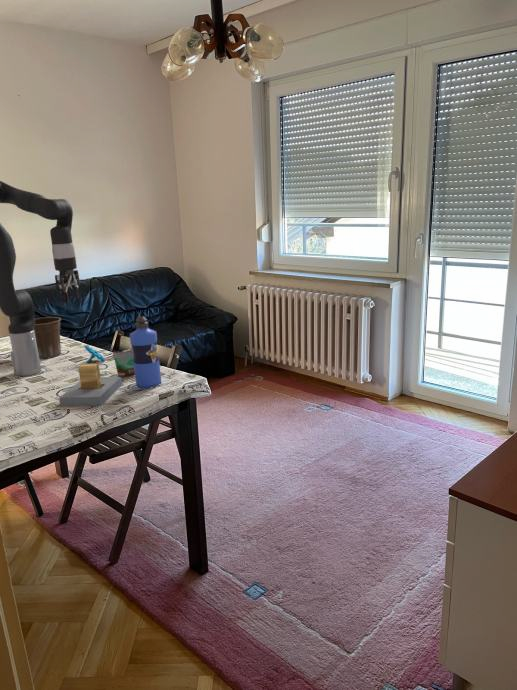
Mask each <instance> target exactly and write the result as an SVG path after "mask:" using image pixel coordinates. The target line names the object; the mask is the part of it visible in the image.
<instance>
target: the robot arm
mask: <svg viewBox="0 0 517 690" xmlns="http://www.w3.org/2000/svg"><path fill="white" fill-rule="evenodd" d="M0 204H11V205H13V206H16V207H17V208H18V209H19V210H22V211H25V212H28V213H31V214H34V215H38V216H39V217H41V218H44V219H45V220H49V221H50V220H52V221H56V224H55V226H53V227H52V228H50V240H51V247H52V249H51V250H52V258H53V259H52V260H53V264H54V269H55V271H58V273H59V274H55V275H54V279H55V288H56V292H57V293H60V296H61V302H62V304H68V303H69V302H70V301H69V294H68V288H71V289H70V291H71V296H72V299H73V300H74V299H76V300H77V299H79V298H80V295H79V287H80V286H81V281H80V276H79V275H80V274H79V271H78V270H77V268H78V266H77V259H76V253H75V247H74V244H73V237H72V225H73V216H74V212H73V207H72V204H71V203H70V202H69V200H67V199H65V198H57V199H54V198H47V197H46V196H44V195H42V194H40V193H35V192H31V191H27V190H23V189H19V188H17V187H14V186H12V185H10V184H8V183H6V182H3V181H1V180H0ZM16 261H17V254H16V249H15V245H14V241H13V238H12V236H11V235H10V233H9V232H8V230H6V228H5V227H4V226H3V225H2V223H1V222H0V310H1V313H2V314H4V315H5V316H6V317H10V318H11V317H12V318H13V319H12V320H11V323H9V325H8V328H7V329H8V334H9V340H10V345H11V351H10V359H11V363H12V364H11V365H12V368H13V369H12V370H13V374H14V376H19V377H20V376H21V377H26V376H34V375H36V374H39V373H41V371H42V367H41V361H40V359H39V354H38V348H37V342H36V336H35V331H34V323H35V319H36V317H35V309H34V302H33V299H32V297H31V295H30V293H29V292H27V291H26V290H24V289H17V290H16V289H15V285H14V271H15V267H16Z"/></svg>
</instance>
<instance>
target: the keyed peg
mask: <svg viewBox="0 0 517 690" xmlns="http://www.w3.org/2000/svg"><path fill="white" fill-rule="evenodd" d="M99 364H100V363H99V362H98V363H97V362H96V363H95V362H94V363H93V362H91V363H90V362H89V364H88V363H81V364H79V365H78V366H77V368H78V373H79V374H78V376H79V381H80V382H81V389H101V388H102V384H101V370H100V365H99Z"/></svg>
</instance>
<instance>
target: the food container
mask: <svg viewBox="0 0 517 690" xmlns="http://www.w3.org/2000/svg"><path fill="white" fill-rule="evenodd" d="M112 359H114V363H115V367H116V368H115V369H116V373H117V377H121V378H129V377H130V376H131V377H135V376H134V375H135V372H134V363H133V362H134V354H133V350H132V347H131V348H127V349H124V350H122V351H120V352H115V351H113V352H112ZM131 377H130V378H131Z"/></svg>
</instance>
